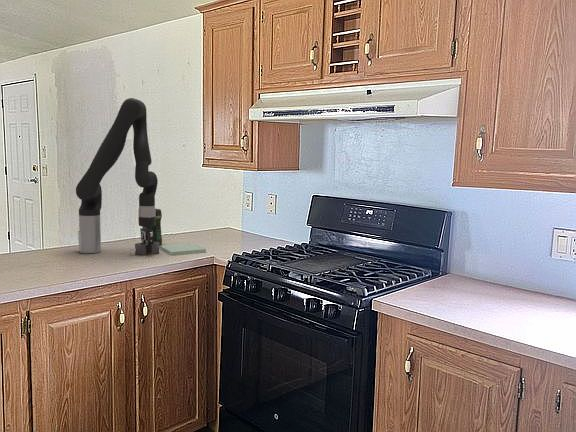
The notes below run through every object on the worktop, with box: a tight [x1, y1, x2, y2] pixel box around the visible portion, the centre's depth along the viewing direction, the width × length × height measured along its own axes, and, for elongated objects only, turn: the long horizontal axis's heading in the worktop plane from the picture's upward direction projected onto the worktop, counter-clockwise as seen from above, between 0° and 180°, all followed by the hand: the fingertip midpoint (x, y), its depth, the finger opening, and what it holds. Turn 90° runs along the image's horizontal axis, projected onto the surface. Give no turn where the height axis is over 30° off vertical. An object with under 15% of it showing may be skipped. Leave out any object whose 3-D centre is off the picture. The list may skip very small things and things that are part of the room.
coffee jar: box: [141, 208, 163, 247], centre depth 260 cm, size 10×8×19 cm
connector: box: [128, 242, 160, 257], centre depth 240 cm, size 13×4×5 cm, turn 122°
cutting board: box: [159, 242, 207, 257], centre depth 250 cm, size 17×16×2 cm
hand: (147, 252), depth 241 cm, fingers open, 4 cm apart
